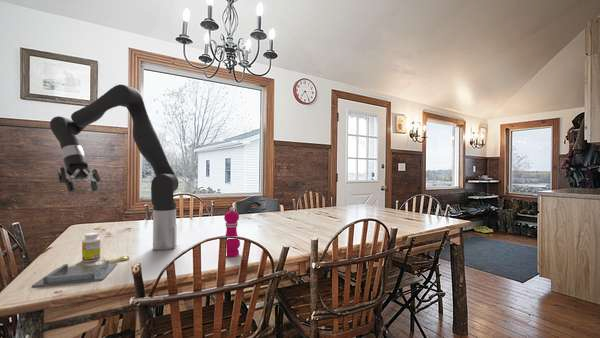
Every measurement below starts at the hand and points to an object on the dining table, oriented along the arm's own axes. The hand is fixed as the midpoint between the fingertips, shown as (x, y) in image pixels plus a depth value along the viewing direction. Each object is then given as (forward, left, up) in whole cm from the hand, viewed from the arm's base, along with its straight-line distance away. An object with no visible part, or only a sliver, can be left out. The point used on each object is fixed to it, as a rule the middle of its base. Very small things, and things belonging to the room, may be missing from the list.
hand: (83, 190), depth 112 cm
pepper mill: (-59, +21, -26) cm, 68 cm away
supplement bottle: (-7, +13, -26) cm, 30 cm away
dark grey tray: (-9, +28, -26) cm, 39 cm away
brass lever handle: (-17, +17, -26) cm, 35 cm away
